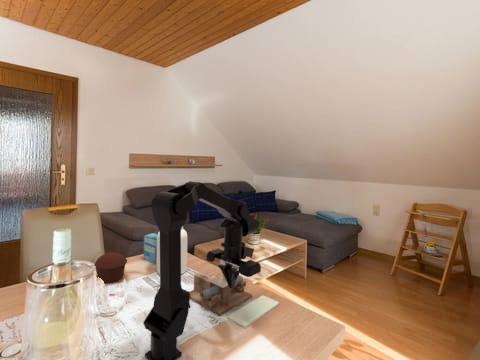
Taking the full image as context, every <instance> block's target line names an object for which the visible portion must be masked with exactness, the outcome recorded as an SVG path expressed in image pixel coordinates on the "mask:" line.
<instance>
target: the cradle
mask: <svg viewBox="0 0 480 360" xmlns="http://www.w3.org/2000/svg"><path fill="white" fill-rule="evenodd" d="M193 276H194V277H193V289H191V290H190V291H188V292H189V293H190V300H191V301H193V302H194V303H196V304H197V305H200V306H201V307H202V308H205V309H206V310H207V311H209V312H211V313H212V314H215V315H217V316H218V317H221V316H223V315H225V314H227V313H228V312H229V311H231V310H233V309H234V308H237V307H238V306H240V305H241V304H243V303H245V302H246V301H248V300H250V299H252V298H253V294H251V293H250V292H247V291H245V287H247V281H245V280H243V282H241V283H240V284H239V285H237V286H235V287H233V288H231V289H229V287H228V286H226V287H224V288H221V294H219V295H215V296H213V297H211V299H209V300H206V299H205V298H204V297H203V292H204V291H205V290H206V289H208V288H210V287H212V286H215V285H216V284H214V283H212V282H209V278H210V277H209V276H207V275H205V274H202V273H200V272H199V273H196V274H194V275H193Z"/></svg>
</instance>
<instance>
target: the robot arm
mask: <svg viewBox="0 0 480 360" xmlns="http://www.w3.org/2000/svg"><path fill="white" fill-rule="evenodd" d="M198 201H200V202H202V203H204V204H206V205H208V206H211V207H213V208H215V209H216V210H217V211H218V213H219V214H220V215H222V216H223V217H224V218H225V219H224V221H222V222H221V224H220V225H219V227H220V228H224V230H223V231H224V235H223V236H224V237H223V242H220V243H221V247H223V249H222V248H215V249H211V250H210V251H208V252H207V253H206V261H208V262H210V263H214V262H215V261H216V259H218V260H219V265H218V266H217V267H218V268H219V269H220V271H221V273H222V276H224V277H225V279H226V281H227V283H228V285H229V287H230V288H233V287H234V285H235V282H236V280H237V277H238V275H241V276H244V277H247V278H251V277H253V276H256V275H257V274H259V273H261V269H262V265H261V264H260V262H258V261H255V260H252V258H253V255H254V251H255V248H253V247H250V246H248V245H247V246H246V243H245V242H244V241H243V237H246V236H250V235H252V234H256V233H257V232H258V231H259V228H260V225H259V222H258V221H257V219H256V218H255V214H252V213H250V211H249V209H248V207H247V203H246V202H245V201H244V200H239V199H234V198H229V197H227V196H225V195H224V194H221V193H220V192H218V191H216V190H214V189H212V188H210V187H209V186H207V185H205V184H204V183H203V182H199V181H188V182H186V183H184V184H182V185H179V186H176V187H174V188H171V189H167V190H165V191H160V192H158V193H156V195H155V196H154V197H153V198H152V200H151V204H150V205H151V213H152V217H153V220H154V222H155V224H156V226H157V228H158V232H159V231H160V274H159V277H160V278H159V285H160V286H159V289H158V290H157V292H156V294H155V295H154V299H153V300H154V301H153V306H152V308H151V310H150V311H149V313H148V315H147V316H146V318H145V319H144V320H143V323H142V324H143V326H144V329H146V330H148V331H150V350H149V351H147V352H145V354H144V356H145V358H147V360H176V359H178V358H180V357H181V356H182V355H183V354H182V351H181V350H179V348H178V347H177V346H178V337H180V336H182V335H183V333H184V330H185V325H186V323H187V319H188V317H189V309H191V305H190V304H191V303H190V300H191V299H190V293H189V292H190V291H187V290H186V289H183V288H182V274H181V228H182V227H183V228H184V225H185V223H186V221H187V219H188V212H189V211H190V210H192V209H193V208H195V207H196V205H197V204H198ZM227 218H229V219H227ZM247 258H250V259H249V260H246V259H247ZM245 260H246V261H245Z"/></svg>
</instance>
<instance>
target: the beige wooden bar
mask: <svg viewBox="0 0 480 360" xmlns="http://www.w3.org/2000/svg"><path fill="white" fill-rule="evenodd" d="M209 282H212V283H214V284H216V285H218V286H220V287H222V288H224V287H226V286H228V283H227V281H226V279H225V277H224V275H222V276H221V277H217V276H215V275H212V276H210V277H209Z"/></svg>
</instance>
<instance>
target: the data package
mask: <svg viewBox="0 0 480 360" xmlns="http://www.w3.org/2000/svg"><path fill="white" fill-rule="evenodd" d="M157 235H158V233H153V232H152V233H149V234H145V235H144V236H143V259H144V260H145V261H146V262H150V263H153V264H156V265H157Z"/></svg>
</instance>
